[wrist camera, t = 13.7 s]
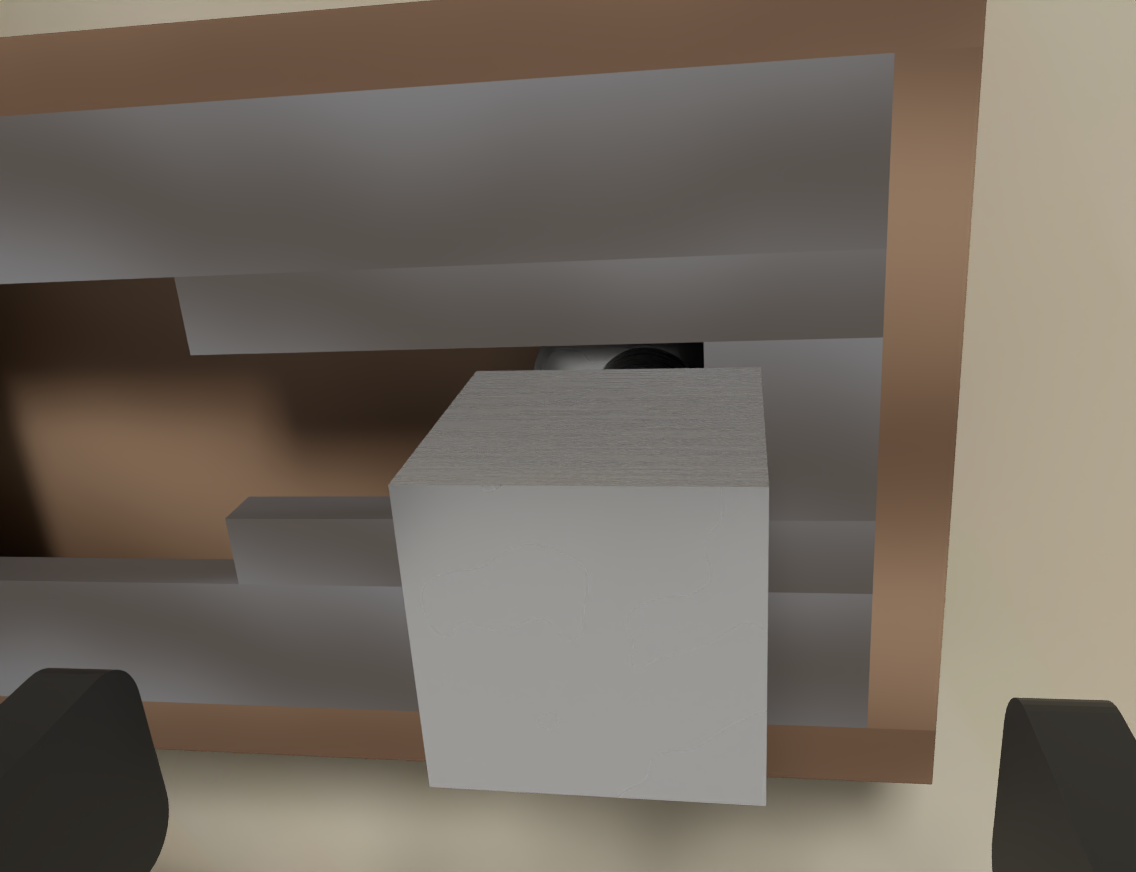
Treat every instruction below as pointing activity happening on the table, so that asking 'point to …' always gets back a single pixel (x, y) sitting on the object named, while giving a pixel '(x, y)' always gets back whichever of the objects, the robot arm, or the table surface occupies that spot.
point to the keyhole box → (469, 329)
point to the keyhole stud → (592, 578)
